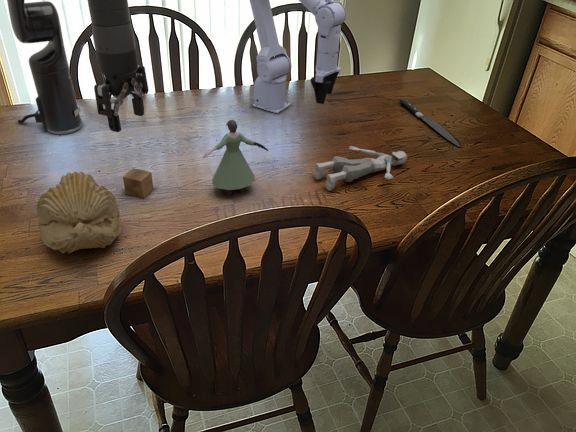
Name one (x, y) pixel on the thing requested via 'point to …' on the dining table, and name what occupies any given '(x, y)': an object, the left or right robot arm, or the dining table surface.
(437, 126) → the knife
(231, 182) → the character figurine
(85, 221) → the fossil
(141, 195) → the brown cube-like block
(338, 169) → the figurine
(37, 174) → the dining table surface
